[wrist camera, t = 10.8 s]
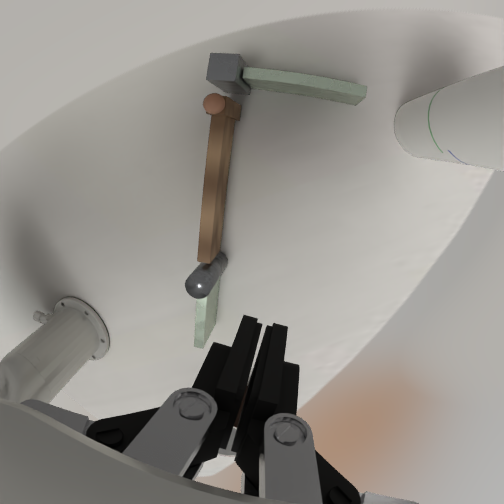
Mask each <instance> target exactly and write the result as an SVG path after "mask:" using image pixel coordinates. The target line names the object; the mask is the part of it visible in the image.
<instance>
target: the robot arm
mask: <svg viewBox="0 0 504 504" xmlns="http://www.w3.org/2000/svg"><path fill="white" fill-rule="evenodd" d="M33 318H34V320H36V321H38V322H40V323H44V325H42V326H41V327H40V328H39V329H37V330H36V331H35V332H34V333H32V334H31V335H30V336H29V337H27V338H26V339H25V340H24V341H23V342H21V343H20V344H19V345H18V346H16V347H15V348H14V349H13V350H12V351H11V352H9V353H8V354H7V355H6V356H5V357H4V358H3V359H2V360H1V362H0V504H418V503H416V502H413V501H409V500H403V499H398V498H392V497H388V496H384V495H379V494H375V493H371V492H367V491H366V492H365V493H364V494H363V493H359V492H358V490H357V489H356V488H355V487H354V486H353V485H352V484H351V483H350V482H349V481H348V480H347V479H345V478H344V477H343V476H342V475H341V474H340V473H339V472H338V471H337V470H335V468H334V467H332V466H331V465H330V464H329V463H328V462H327V461H326V460H325V459H324V458H323V457H322V456H321V455H320V454H319V453H318V452H317V451H316V450H315V447H314V441H313V435H312V431H311V428H310V426H309V425H308V424H307V422H306V421H304V420H303V419H302V418H300V417H298V416H296V412H297V399H298V384H299V365H297V364H293V363H289V362H285V361H284V355H285V347H286V339H287V331H288V327H287V326H283V325H279V324H276V323H273V326H268V325H267V327H266V330H265V333H264V336H263V340H262V343H261V346H260V349H259V352H258V356H257V359H256V362H255V365H254V368H253V371H252V375H251V378H250V381H249V385H248V389H247V392H246V396H245V400H244V404H243V407H242V411H241V415H240V419H239V422H238V426H237V430H236V433H235V437H234V441H233V444H232V448H231V451H232V452H236V456H235V460H234V461H236V463H237V465H238V466H239V467H240V468H241V470H242V471H243V473H242V478H241V493H237V492H233V491H229V490H224V489H221V488H217V487H213V486H210V485H206V484H203V483H200V482H196V481H194V480H195V478H196V477H197V475H198V473H199V472H200V470H201V468H202V467H203V464H204V462H205V461H208V460H211V459H213V458H216V457H217V454H218V451H219V448H221V449H225V450H226V448H227V445H228V442H229V439H230V436H231V433H232V430H233V427H234V424H235V421H236V418H237V415H238V412H239V409H240V406H241V403H242V399H243V396H244V393H245V389H246V385H247V382H248V378H249V374H250V370H251V367H252V363H253V359H254V355H255V351H256V347H257V343H258V340H259V336H260V332H261V328H262V324H261V323H257V320H258V319H257V318H254V317H250V316H246V315H243V318H242V321H241V323H240V326H239V329H238V332H237V334H236V337H235V340H234V342H233V345H232V347H229V346H226V345H223V344H219V343H216V342H214V343H213V344H212V346H211V348H210V350H209V352H208V355H207V357H206V359H205V361H204V363H203V365H202V367H201V369H200V371H199V374H198V376H197V378H196V380H195V382H194V384H193V386H192V388H182V389H179V390H177V391H175V392H173V393H172V394H171V395H170V396H169V397H168V399H167V400H166V401H165V402H164V404H163V405H162V406H161V407H158V408H154V409H149V410H145V411H140V412H136V413H131V414H126V415H121V416H116V417H111V418H105V419H101V420H98V421H91V420H89V418H88V416H84V415H81V414H77V413H74V412H71V411H68V410H65V409H62V408H59V407H56V406H53V405H50V404H49V403H50V402H51V401H52V399H53V398H54V397H55V396H56V395H57V394H58V393H59V392H60V390H61V389H62V388H63V387H64V386H65V385H66V384H67V383H68V382H69V380H70V379H71V378H72V377H73V376H74V375H75V374H76V373H77V372H78V371H79V369H80V368H81V367H82V366H83V365H84V364H85V363H86V362H87V361H88V360H99V359H101V358H102V357H103V356H104V355H105V354H106V353H107V351H108V349H109V337H108V333H107V330H106V328H105V325H104V324H103V322H102V320H101V319H100V317H99V316H98V315H97V313H96V312H95V311H94V310H93V309H92V308H91V307H89V306H88V305H87V304H86V303H84V302H83V301H81V300H78V299H76V298H72V297H66V298H63V299H62V300H60V301H59V302H58V303H57V304H56V305H55V307H54V311H53V314H51V315H50V314H47V315H45V314H44V313H42V312H40V311H35V312H34V315H33Z"/></svg>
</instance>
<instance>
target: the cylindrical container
mask: <svg viewBox="0 0 504 504" xmlns="http://www.w3.org/2000/svg"><path fill="white" fill-rule="evenodd" d="M394 130H395V135H396V137H397V140H398V142H399V143H400V145H401V146H402V148H403V149H404V150H405V151H406V152H408V153H409V154H411V155H412V156H415V157H417V158H424V159H431V160H439V161H446V162H453V163H460V164H466V165H472V166H478V167H483V168H489V169H494V170H499V171H504V66H502V67H499V68H496V69H493V70H490V71H488V72H485V73H482V74H479V75H476V76H473V77H471V78H468V79H465V80H462V81H460V82H457V83H454V84H452V85H449V86H446V87H444V88H441V89H439V90H436V91H434V92H431V93H429V94H426V95H424V96H421V97H419V98H416V99H414V100H411V101H409V102H407V103H405V104H404V105H402V106H401V107H400V109H399V110H398V112H397V114H396V116H395V121H394Z"/></svg>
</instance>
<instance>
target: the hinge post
mask: <svg viewBox="0 0 504 504" xmlns="http://www.w3.org/2000/svg"><path fill="white" fill-rule="evenodd" d="M227 264H228V259H227V257H226V255H225V254H224V253H223V252H221V251H219V253H218V254H217V255H216V256H215V258H214V259H213V260H212V261H211V263H210V264H209V263H203V262H201V263H200V265H199V266H198V267H197V268H196V269H195V270H194V271H193V273H192V274H191V275H190V276H189V277H188V278H187V280H186V282H185V288H186V290H187V292H188V293H189V295H191V296H192V297H194V298H196V299H197V302H196V318H195V337H194V347H198V348H202V349H203V348H204V346H205V344H206V342H207V340H208V338H209V336H210V334H211V332H212V330H213V328H214V326H215V323H216V312H217V302H218V292H219V282H220V276H221V274H222V273H223V271H224V270H225V268H226V267H227Z"/></svg>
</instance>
